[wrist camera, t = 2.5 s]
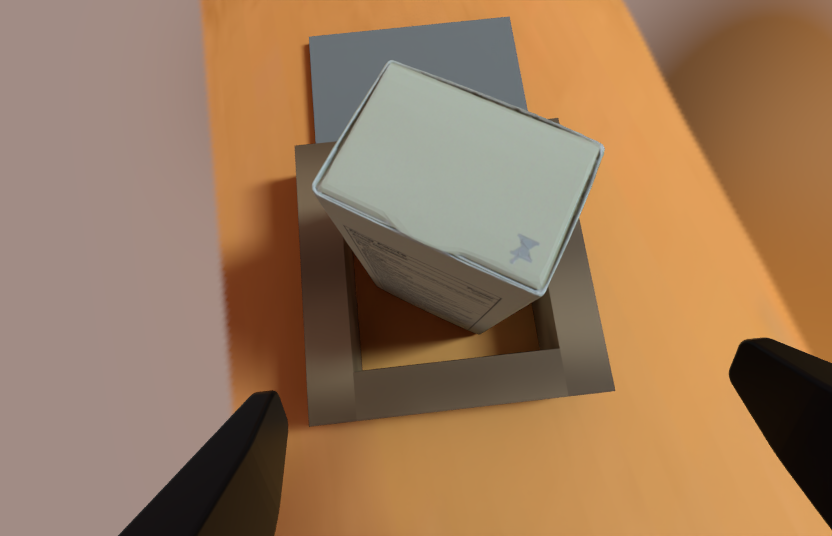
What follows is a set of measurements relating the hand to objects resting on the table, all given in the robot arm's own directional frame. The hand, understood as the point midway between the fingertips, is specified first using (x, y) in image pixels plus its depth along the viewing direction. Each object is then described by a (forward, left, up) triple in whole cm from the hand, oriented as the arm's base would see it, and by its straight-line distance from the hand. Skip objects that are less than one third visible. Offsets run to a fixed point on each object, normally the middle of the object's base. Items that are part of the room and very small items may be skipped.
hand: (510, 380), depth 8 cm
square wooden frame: (+3, +4, -13) cm, 14 cm away
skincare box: (+3, +4, -13) cm, 14 cm away
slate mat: (+9, +13, -13) cm, 21 cm away
